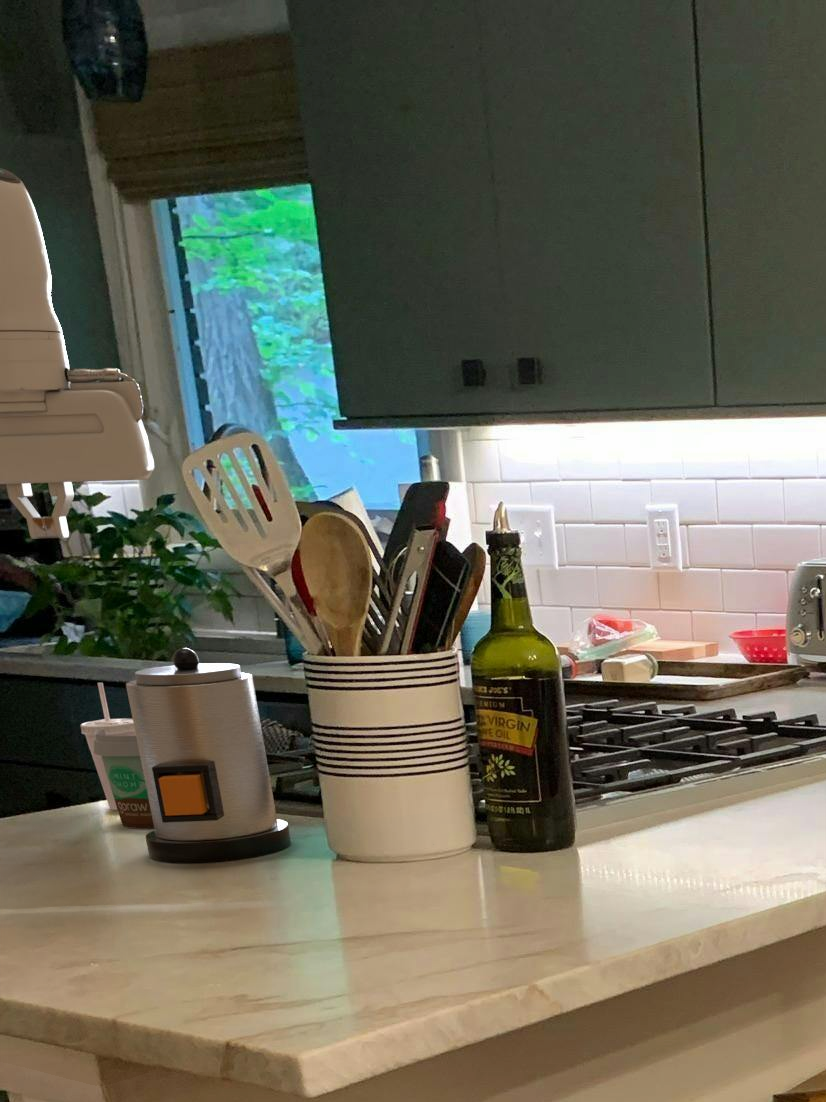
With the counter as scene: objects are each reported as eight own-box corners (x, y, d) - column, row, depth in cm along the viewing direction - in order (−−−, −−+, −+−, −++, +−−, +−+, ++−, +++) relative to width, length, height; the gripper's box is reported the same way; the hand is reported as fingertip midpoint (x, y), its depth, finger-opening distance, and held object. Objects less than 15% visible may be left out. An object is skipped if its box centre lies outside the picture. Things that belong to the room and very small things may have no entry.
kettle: (269, 861, 194) (232, 653, 186) (127, 868, 193) (84, 659, 185) (311, 828, 210) (279, 636, 202) (180, 834, 209) (143, 641, 201)
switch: (202, 814, 190) (195, 777, 189) (165, 815, 190) (158, 778, 188) (207, 811, 192) (201, 774, 190) (171, 812, 192) (163, 775, 190)
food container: (86, 830, 213) (66, 737, 209) (117, 820, 219) (99, 729, 214) (188, 830, 211) (170, 736, 207) (217, 820, 216) (200, 728, 212)
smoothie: (145, 800, 230) (121, 678, 225) (163, 806, 226) (139, 682, 220) (89, 807, 227) (63, 683, 221) (107, 814, 222) (81, 688, 216)
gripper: (146, 368, 174) (176, 532, 179) (-86, 375, 173) (-49, 540, 178) (123, 365, 168) (155, 535, 174) (-117, 373, 167) (-78, 543, 173)
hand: (50, 538), depth 176 cm, fingers closed
